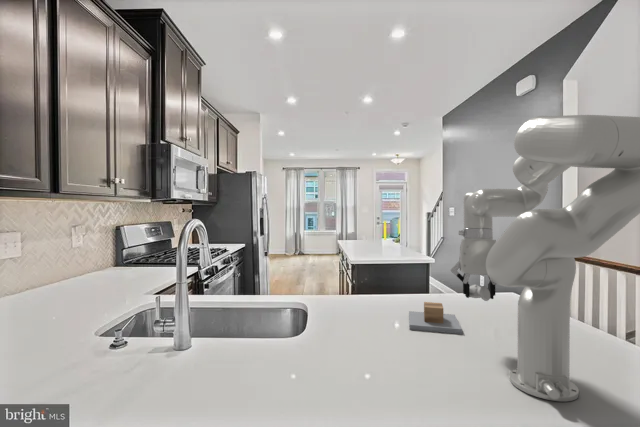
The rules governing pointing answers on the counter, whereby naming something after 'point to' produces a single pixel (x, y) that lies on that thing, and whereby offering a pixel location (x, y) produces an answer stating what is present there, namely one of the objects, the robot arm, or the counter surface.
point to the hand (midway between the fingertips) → (479, 296)
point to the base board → (447, 326)
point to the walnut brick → (433, 312)
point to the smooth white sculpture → (479, 292)
